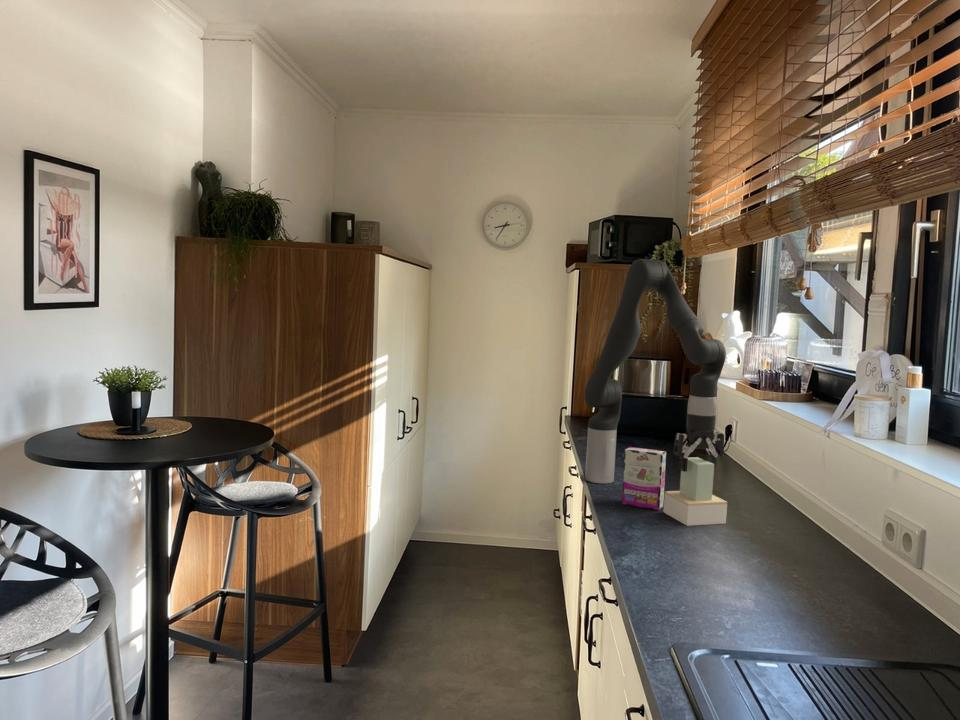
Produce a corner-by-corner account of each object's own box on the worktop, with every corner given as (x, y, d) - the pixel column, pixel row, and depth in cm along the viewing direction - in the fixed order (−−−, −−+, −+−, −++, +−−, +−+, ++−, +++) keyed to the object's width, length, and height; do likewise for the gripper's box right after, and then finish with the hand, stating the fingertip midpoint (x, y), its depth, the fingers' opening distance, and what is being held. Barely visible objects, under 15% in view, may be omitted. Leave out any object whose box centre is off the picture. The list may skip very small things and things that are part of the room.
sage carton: (679, 492, 205) (681, 457, 204) (695, 492, 207) (697, 457, 206) (695, 501, 198) (698, 464, 197) (711, 500, 199) (714, 464, 198)
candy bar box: (663, 506, 212) (667, 451, 211) (659, 511, 208) (663, 454, 206) (625, 500, 217) (629, 445, 216) (620, 504, 213) (624, 448, 211)
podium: (663, 512, 207) (664, 491, 206) (700, 510, 210) (702, 489, 210) (686, 525, 195) (688, 503, 195) (725, 523, 199) (727, 501, 198)
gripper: (716, 409, 206) (711, 466, 207) (671, 409, 202) (667, 467, 203) (732, 414, 198) (727, 473, 200) (686, 414, 194) (681, 474, 196)
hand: (697, 470), depth 202 cm, fingers open, 8 cm apart
